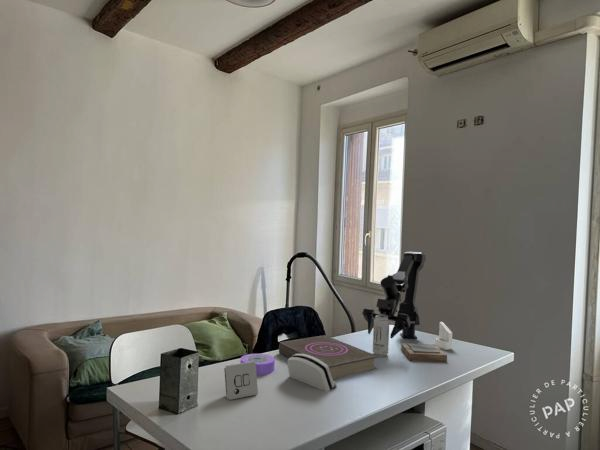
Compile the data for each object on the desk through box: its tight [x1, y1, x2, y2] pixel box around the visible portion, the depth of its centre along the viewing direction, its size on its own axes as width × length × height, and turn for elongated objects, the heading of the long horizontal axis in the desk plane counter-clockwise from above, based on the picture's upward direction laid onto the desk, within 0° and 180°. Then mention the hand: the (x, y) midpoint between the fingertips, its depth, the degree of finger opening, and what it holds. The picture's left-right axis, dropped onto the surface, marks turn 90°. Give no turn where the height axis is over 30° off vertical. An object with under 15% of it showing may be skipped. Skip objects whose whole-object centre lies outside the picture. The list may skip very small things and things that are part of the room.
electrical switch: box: [223, 362, 259, 401], centre depth 125 cm, size 9×5×9 cm, turn 121°
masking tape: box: [239, 353, 276, 376], centre depth 147 cm, size 12×12×4 cm
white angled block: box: [434, 321, 453, 351], centre depth 181 cm, size 4×10×9 cm, turn 25°
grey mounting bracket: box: [286, 354, 338, 393], centre depth 136 cm, size 17×5×10 cm, turn 46°
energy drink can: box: [372, 315, 390, 357], centre depth 167 cm, size 6×6×15 cm
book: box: [278, 334, 379, 380], centre depth 158 cm, size 30×22×5 cm
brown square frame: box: [400, 342, 448, 363], centre depth 168 cm, size 14×14×3 cm
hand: (379, 335), depth 166 cm, fingers open, 9 cm apart
